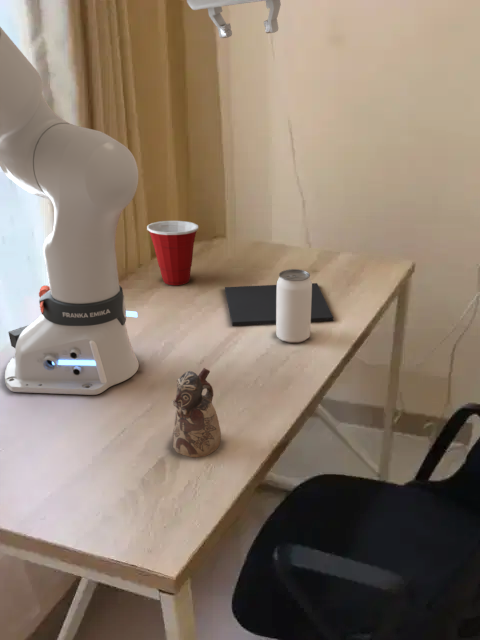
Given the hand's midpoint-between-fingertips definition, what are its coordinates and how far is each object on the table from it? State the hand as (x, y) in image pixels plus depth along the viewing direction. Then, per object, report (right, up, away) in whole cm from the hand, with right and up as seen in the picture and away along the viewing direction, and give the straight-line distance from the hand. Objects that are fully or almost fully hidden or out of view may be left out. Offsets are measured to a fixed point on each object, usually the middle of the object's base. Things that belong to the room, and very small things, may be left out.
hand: (248, 34), depth 124 cm
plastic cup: (-18, -29, +40) cm, 52 cm away
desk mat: (+5, -37, +29) cm, 48 cm away
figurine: (-7, -69, -12) cm, 70 cm away
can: (+8, -46, +18) cm, 50 cm away
